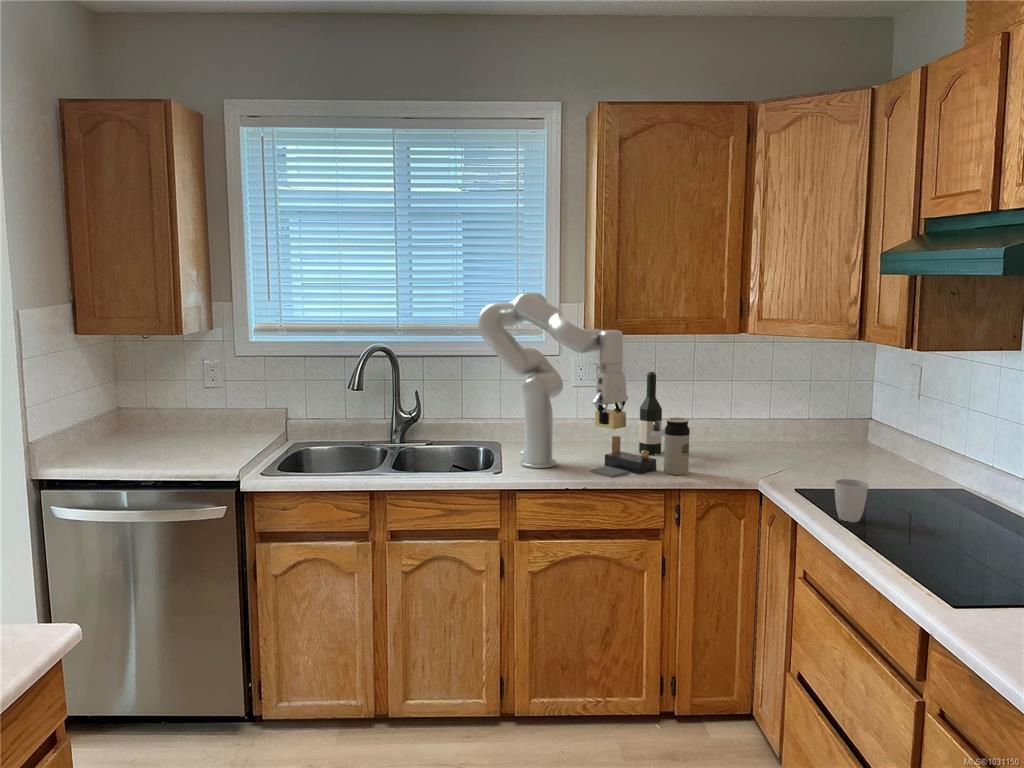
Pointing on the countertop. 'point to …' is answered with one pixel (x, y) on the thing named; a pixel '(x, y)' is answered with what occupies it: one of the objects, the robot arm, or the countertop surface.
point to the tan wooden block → (612, 419)
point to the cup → (850, 499)
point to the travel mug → (676, 446)
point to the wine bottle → (650, 418)
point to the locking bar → (657, 430)
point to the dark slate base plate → (629, 459)
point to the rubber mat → (609, 471)
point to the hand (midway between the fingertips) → (610, 422)
